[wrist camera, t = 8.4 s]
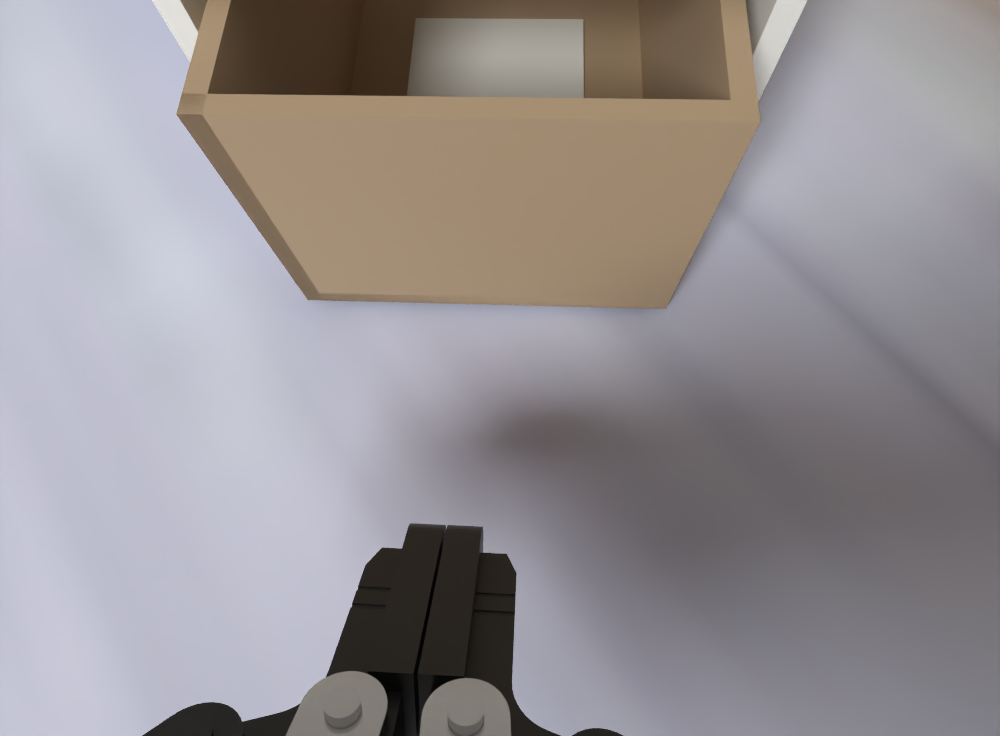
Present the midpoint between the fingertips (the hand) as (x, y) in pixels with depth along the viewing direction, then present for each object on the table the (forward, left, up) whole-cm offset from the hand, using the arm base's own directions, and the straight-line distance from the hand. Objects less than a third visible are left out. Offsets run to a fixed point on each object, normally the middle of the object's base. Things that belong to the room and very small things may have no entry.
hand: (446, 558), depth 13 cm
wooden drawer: (0, -20, -4) cm, 20 cm away
